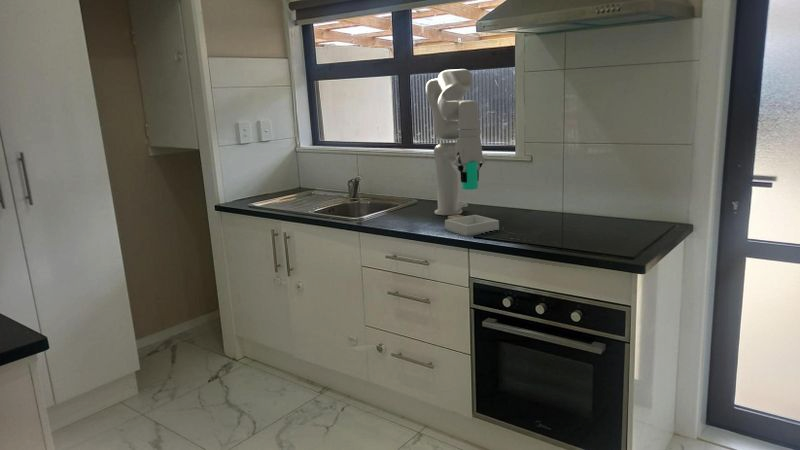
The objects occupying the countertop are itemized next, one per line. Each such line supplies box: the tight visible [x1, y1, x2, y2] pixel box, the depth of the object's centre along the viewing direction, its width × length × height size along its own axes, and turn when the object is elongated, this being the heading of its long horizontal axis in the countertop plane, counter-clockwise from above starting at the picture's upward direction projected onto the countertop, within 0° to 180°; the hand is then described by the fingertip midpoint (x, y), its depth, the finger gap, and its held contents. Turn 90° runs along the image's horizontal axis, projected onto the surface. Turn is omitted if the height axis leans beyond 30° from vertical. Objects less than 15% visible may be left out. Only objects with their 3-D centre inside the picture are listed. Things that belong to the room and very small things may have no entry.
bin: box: [444, 214, 500, 237], centre depth 229 cm, size 15×15×4 cm
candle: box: [461, 161, 479, 191], centre depth 225 cm, size 6×6×12 cm
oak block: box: [447, 214, 465, 220], centre depth 239 cm, size 5×5×4 cm
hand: (469, 181), depth 226 cm, fingers closed on candle, 4 cm apart
